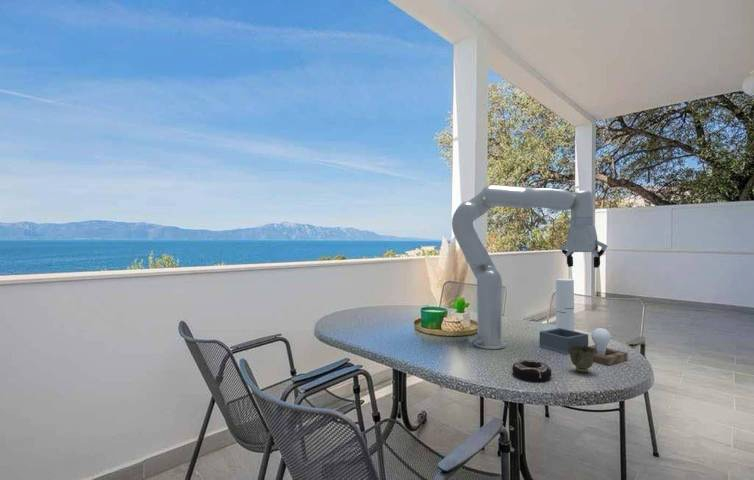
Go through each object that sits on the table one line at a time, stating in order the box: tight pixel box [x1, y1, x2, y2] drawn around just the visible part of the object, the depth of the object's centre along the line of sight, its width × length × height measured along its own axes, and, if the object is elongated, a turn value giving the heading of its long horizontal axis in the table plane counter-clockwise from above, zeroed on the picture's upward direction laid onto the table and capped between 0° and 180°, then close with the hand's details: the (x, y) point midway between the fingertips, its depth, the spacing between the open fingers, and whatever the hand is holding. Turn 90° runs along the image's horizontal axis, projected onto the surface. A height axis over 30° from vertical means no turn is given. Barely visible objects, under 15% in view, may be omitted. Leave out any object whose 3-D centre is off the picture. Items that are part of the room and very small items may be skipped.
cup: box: [569, 345, 595, 374], centre depth 128 cm, size 8×7×8 cm
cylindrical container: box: [555, 278, 575, 331], centre depth 174 cm, size 7×7×25 cm
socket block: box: [588, 344, 629, 367], centre depth 142 cm, size 12×12×2 cm
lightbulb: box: [590, 327, 612, 356], centre depth 142 cm, size 6×6×11 cm
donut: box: [511, 359, 552, 382], centre depth 125 cm, size 12×12×4 cm
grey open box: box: [539, 327, 589, 356], centre depth 155 cm, size 12×12×6 cm
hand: (583, 266), depth 152 cm, fingers open, 9 cm apart
